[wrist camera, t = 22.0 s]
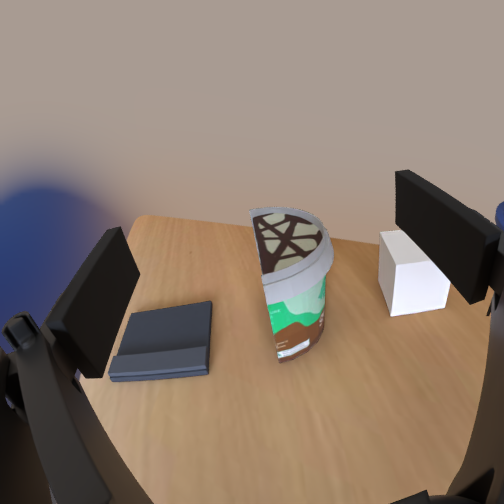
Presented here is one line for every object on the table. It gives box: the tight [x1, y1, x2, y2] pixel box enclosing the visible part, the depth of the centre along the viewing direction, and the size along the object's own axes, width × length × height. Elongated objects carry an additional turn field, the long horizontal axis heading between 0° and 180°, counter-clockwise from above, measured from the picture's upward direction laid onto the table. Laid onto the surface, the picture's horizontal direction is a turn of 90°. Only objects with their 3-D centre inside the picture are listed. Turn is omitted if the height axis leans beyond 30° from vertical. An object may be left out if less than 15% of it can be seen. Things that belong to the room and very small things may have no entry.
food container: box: [249, 207, 334, 363], centre depth 27 cm, size 12×6×10 cm, turn 5°
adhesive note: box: [378, 230, 450, 316], centre depth 28 cm, size 6×6×6 cm
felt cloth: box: [108, 301, 212, 382], centre depth 30 cm, size 10×10×1 cm
